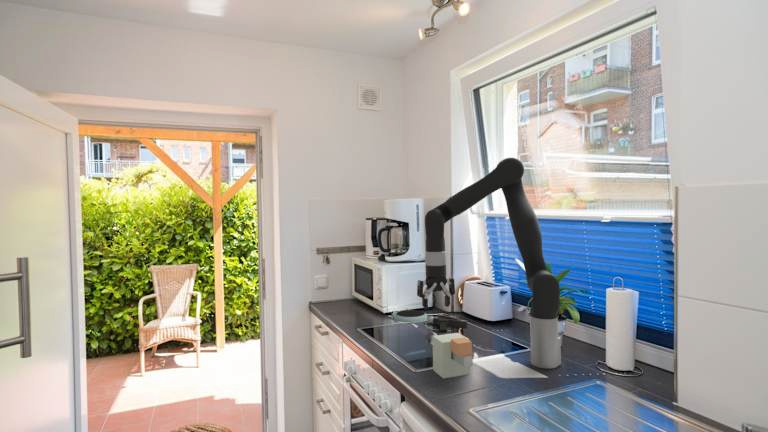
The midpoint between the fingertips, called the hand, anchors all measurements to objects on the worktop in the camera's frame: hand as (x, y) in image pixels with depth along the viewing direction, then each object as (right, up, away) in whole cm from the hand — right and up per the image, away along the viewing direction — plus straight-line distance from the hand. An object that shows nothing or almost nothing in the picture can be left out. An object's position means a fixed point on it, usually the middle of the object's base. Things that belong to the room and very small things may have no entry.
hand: (436, 307), depth 158 cm
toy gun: (+8, -20, +45) cm, 49 cm away
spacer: (+6, -11, -17) cm, 21 cm away
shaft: (+3, -15, -8) cm, 17 cm away
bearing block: (+4, -20, -10) cm, 23 cm away
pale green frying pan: (-7, -20, +67) cm, 70 cm away
